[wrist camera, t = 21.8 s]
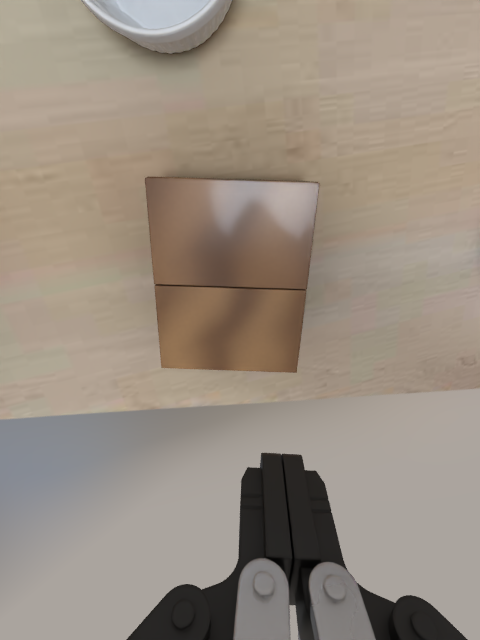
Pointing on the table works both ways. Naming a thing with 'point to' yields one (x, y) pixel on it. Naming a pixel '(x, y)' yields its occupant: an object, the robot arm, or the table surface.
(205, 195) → the carton
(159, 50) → the ramekin
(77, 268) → the table surface
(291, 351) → the flap
